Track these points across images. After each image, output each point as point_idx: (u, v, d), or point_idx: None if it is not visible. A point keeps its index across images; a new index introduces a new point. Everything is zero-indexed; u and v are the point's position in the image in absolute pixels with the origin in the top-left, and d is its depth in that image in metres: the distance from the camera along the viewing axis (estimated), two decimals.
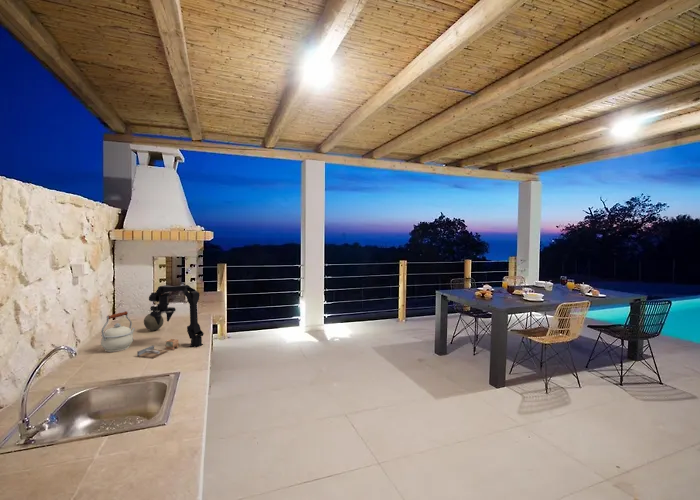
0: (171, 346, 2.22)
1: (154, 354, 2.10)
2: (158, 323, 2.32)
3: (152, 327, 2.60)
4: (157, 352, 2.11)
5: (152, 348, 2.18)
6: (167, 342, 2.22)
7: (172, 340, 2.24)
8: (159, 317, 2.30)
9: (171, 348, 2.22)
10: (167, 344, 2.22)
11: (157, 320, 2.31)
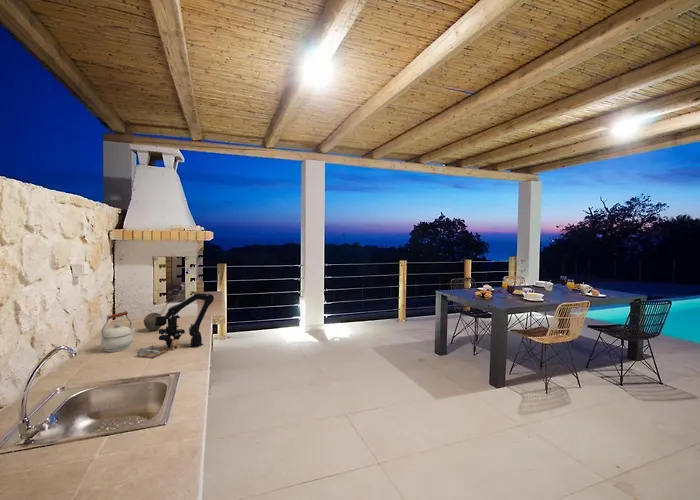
0: (171, 346, 2.22)
1: (154, 354, 2.10)
2: (169, 346, 2.21)
3: (152, 327, 2.60)
4: (157, 352, 2.11)
5: (152, 348, 2.18)
6: None
7: (172, 340, 2.24)
8: (170, 340, 2.19)
9: (171, 348, 2.22)
10: None
11: (168, 343, 2.20)
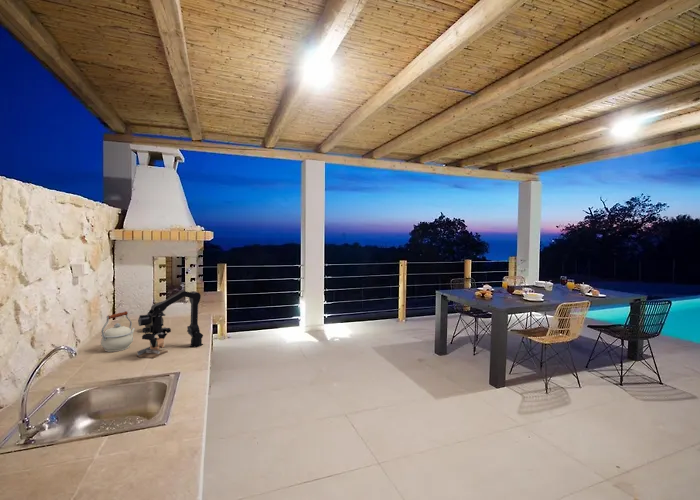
0: (156, 345, 2.09)
1: (154, 354, 2.10)
2: (153, 346, 2.09)
3: None
4: (157, 352, 2.11)
5: None
6: None
7: (157, 339, 2.12)
8: (154, 339, 2.07)
9: (156, 348, 2.09)
10: None
11: (152, 343, 2.08)
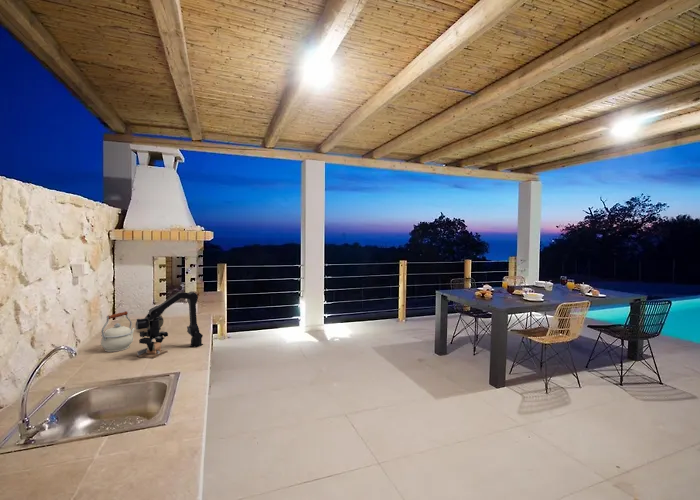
0: (153, 349, 2.10)
1: (154, 354, 2.10)
2: (150, 350, 2.09)
3: None
4: (157, 352, 2.11)
5: None
6: None
7: (154, 343, 2.12)
8: (151, 343, 2.07)
9: (153, 352, 2.10)
10: None
11: (149, 347, 2.08)
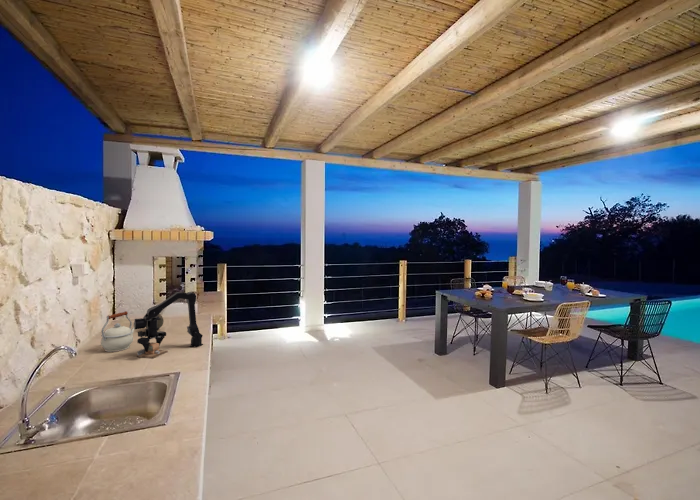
0: (151, 350, 2.10)
1: (154, 354, 2.10)
2: (146, 351, 2.08)
3: None
4: (157, 352, 2.11)
5: None
6: None
7: (152, 344, 2.12)
8: (147, 344, 2.06)
9: (151, 352, 2.10)
10: None
11: (145, 347, 2.07)
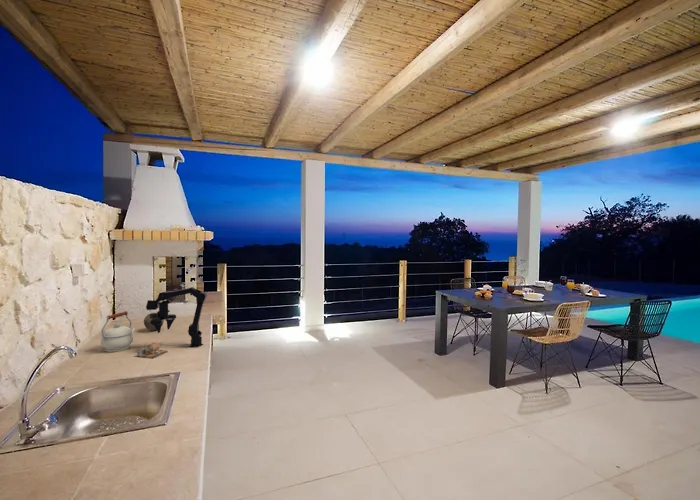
0: (151, 350, 2.10)
1: (154, 354, 2.10)
2: (158, 331, 2.21)
3: (152, 327, 2.60)
4: (157, 352, 2.11)
5: None
6: (147, 346, 2.10)
7: (152, 344, 2.12)
8: (159, 325, 2.19)
9: (151, 352, 2.10)
10: (147, 348, 2.10)
11: (157, 328, 2.20)
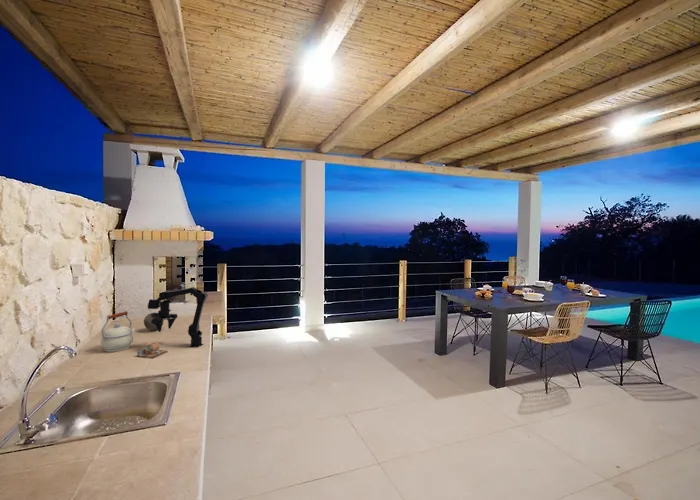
0: (151, 350, 2.10)
1: (154, 354, 2.10)
2: (159, 330, 2.22)
3: (152, 327, 2.60)
4: (157, 352, 2.11)
5: None
6: (147, 346, 2.10)
7: (152, 344, 2.12)
8: (160, 324, 2.20)
9: (151, 352, 2.10)
10: (147, 348, 2.10)
11: (158, 327, 2.22)
